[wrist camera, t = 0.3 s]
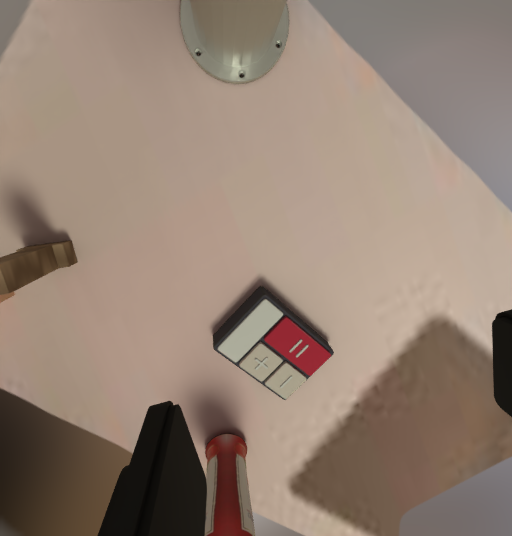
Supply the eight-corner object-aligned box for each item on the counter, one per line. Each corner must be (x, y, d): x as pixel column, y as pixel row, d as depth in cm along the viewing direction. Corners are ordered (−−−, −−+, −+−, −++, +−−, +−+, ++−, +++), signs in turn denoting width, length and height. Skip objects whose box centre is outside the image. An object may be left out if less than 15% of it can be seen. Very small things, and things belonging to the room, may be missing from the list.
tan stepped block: (27, 246, 41) (-49, 270, 30) (71, 240, 41) (12, 262, 30) (35, 268, 42) (-37, 300, 30) (77, 262, 42) (22, 291, 31)
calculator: (286, 404, 48) (211, 351, 43) (280, 386, 52) (211, 335, 47) (337, 355, 46) (265, 295, 42) (327, 340, 50) (261, 284, 46)
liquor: (247, 461, 54) (271, 736, 27) (204, 463, 53) (185, 750, 26) (248, 425, 52) (275, 684, 25) (204, 428, 51) (182, 697, 24)
